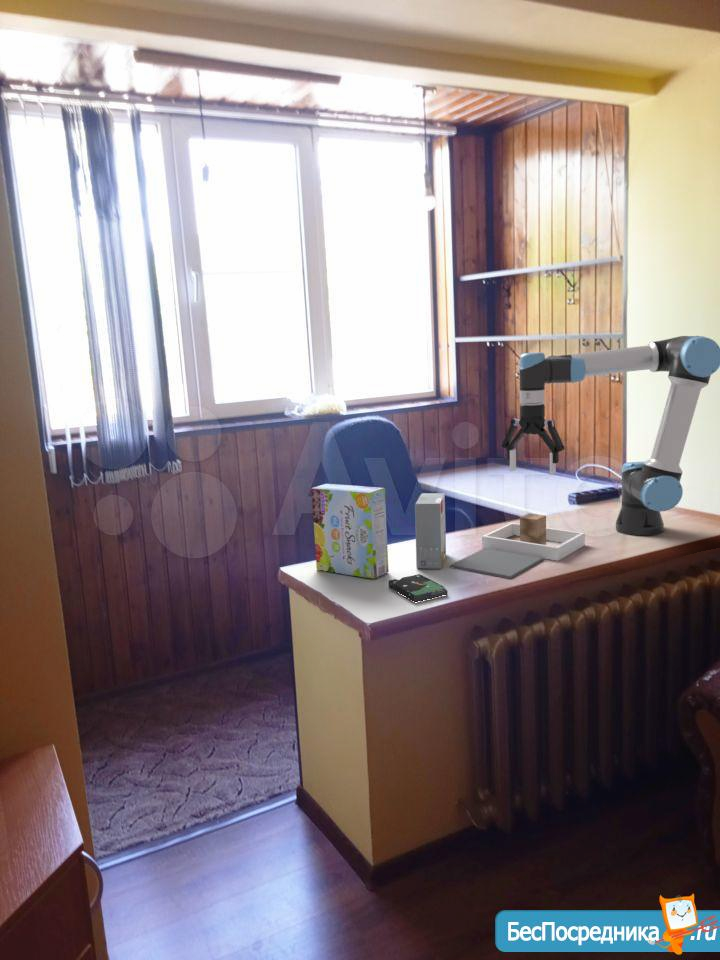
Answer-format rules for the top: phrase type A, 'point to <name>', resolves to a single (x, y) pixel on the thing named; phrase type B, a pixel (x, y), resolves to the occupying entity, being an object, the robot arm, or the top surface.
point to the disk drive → (417, 587)
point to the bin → (567, 538)
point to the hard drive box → (430, 530)
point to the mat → (497, 563)
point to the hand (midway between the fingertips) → (532, 471)
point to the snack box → (350, 530)
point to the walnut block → (533, 528)
